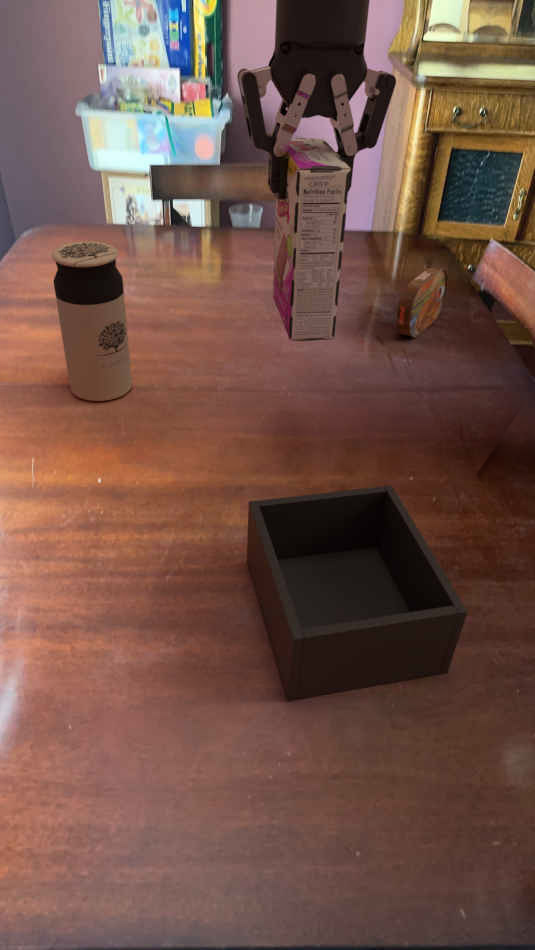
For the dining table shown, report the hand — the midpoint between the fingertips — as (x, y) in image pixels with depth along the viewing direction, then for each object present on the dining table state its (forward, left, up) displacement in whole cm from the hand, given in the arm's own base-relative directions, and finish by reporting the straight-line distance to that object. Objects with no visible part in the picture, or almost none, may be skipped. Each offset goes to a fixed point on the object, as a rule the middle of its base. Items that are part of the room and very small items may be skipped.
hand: (309, 196), depth 64 cm
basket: (+3, +27, -28) cm, 39 cm away
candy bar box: (0, 0, -13) cm, 13 cm away
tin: (-28, -28, -28) cm, 49 cm away
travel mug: (+22, -16, -28) cm, 39 cm away
